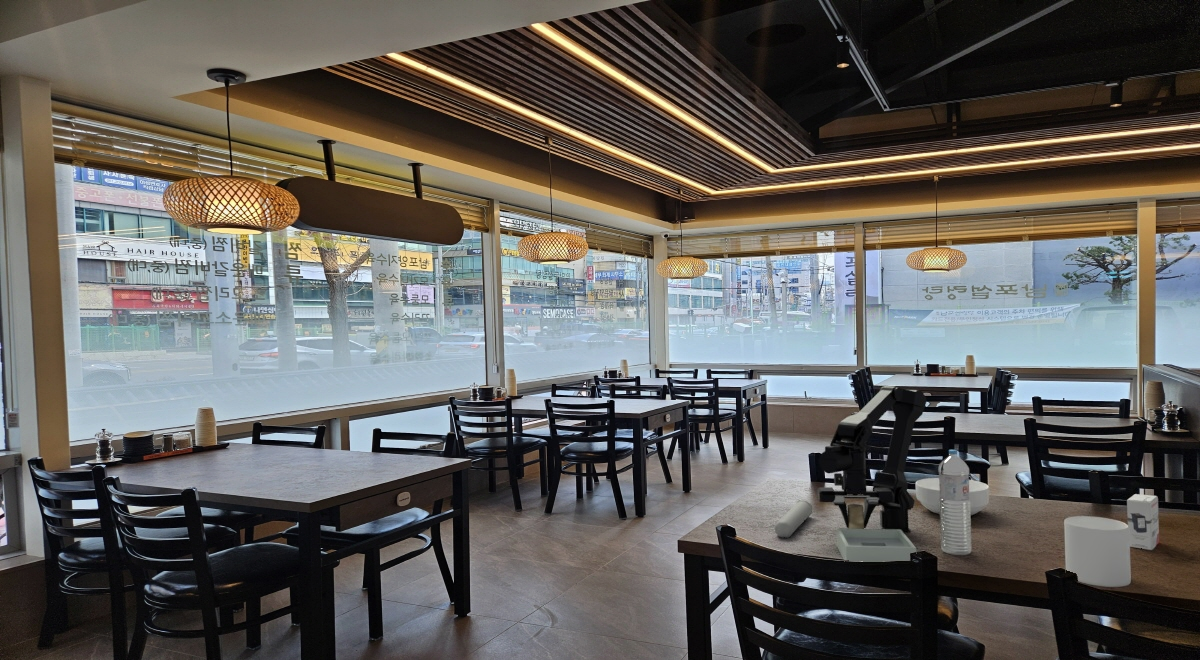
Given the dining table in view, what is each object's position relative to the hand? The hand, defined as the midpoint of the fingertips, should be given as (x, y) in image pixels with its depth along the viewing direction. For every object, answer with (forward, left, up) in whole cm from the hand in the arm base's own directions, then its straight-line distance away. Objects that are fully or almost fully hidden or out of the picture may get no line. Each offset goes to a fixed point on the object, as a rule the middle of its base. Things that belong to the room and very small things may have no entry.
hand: (856, 527), depth 193 cm
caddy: (-2, +14, -3) cm, 14 cm away
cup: (-46, +26, -3) cm, 53 cm away
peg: (0, 0, -2) cm, 2 cm away
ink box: (-68, 0, -3) cm, 68 cm away
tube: (+15, -12, -4) cm, 19 cm away
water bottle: (-22, +9, -3) cm, 24 cm away
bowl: (-32, -30, -4) cm, 44 cm away
